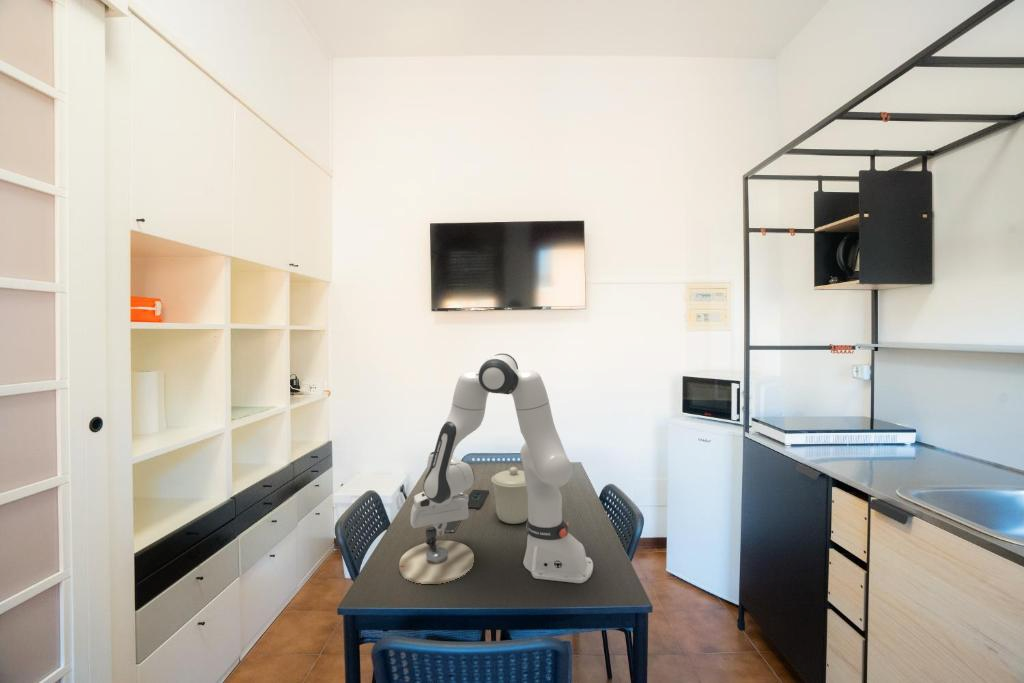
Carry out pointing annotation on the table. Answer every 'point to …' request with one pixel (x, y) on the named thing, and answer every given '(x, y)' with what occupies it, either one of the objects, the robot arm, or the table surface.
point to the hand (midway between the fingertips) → (440, 534)
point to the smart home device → (477, 499)
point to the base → (428, 573)
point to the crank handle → (434, 548)
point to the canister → (511, 496)
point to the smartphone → (450, 526)
